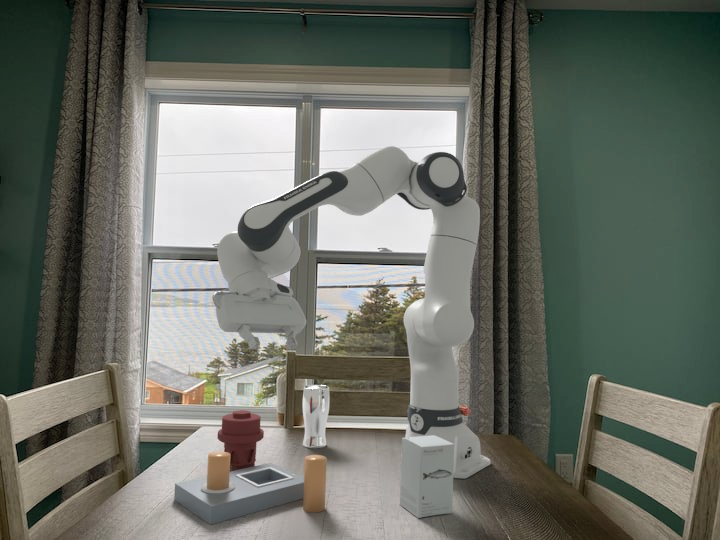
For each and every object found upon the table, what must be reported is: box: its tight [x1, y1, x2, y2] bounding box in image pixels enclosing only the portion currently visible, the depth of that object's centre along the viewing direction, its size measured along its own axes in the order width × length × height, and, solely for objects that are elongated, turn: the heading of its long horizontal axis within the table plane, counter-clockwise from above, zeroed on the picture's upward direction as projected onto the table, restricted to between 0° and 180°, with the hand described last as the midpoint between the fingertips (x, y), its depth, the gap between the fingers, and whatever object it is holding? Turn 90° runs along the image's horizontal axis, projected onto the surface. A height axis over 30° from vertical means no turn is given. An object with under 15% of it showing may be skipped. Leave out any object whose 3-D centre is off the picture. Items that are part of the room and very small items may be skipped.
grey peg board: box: [173, 451, 304, 525], centre depth 104 cm, size 21×14×9 cm, turn 133°
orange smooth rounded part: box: [302, 454, 328, 513], centre depth 100 cm, size 4×4×9 cm
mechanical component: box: [217, 409, 265, 471], centre depth 122 cm, size 12×10×10 cm
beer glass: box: [302, 384, 330, 449], centre depth 142 cm, size 7×7×15 cm
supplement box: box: [399, 435, 454, 519], centre depth 102 cm, size 7×7×13 cm
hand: (275, 346), depth 111 cm, fingers open, 8 cm apart
